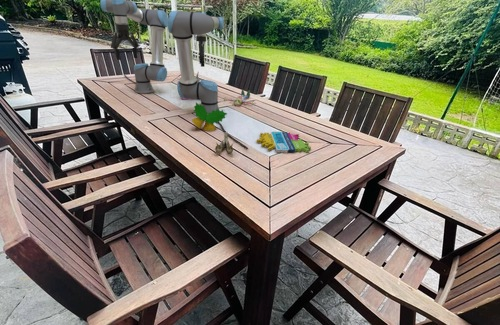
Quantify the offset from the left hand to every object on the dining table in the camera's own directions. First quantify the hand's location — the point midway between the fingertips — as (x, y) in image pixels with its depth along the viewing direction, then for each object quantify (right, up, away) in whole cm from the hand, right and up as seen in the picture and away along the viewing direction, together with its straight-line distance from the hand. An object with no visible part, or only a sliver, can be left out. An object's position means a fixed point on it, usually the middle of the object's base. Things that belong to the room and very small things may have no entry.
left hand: (127, 58), depth 179 cm
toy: (+77, -20, +42) cm, 90 cm away
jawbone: (+71, -65, -40) cm, 104 cm away
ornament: (+59, -50, -14) cm, 78 cm away
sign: (+103, -60, -26) cm, 122 cm away
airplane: (+28, +4, +78) cm, 84 cm away
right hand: (+46, +7, +30) cm, 55 cm away
